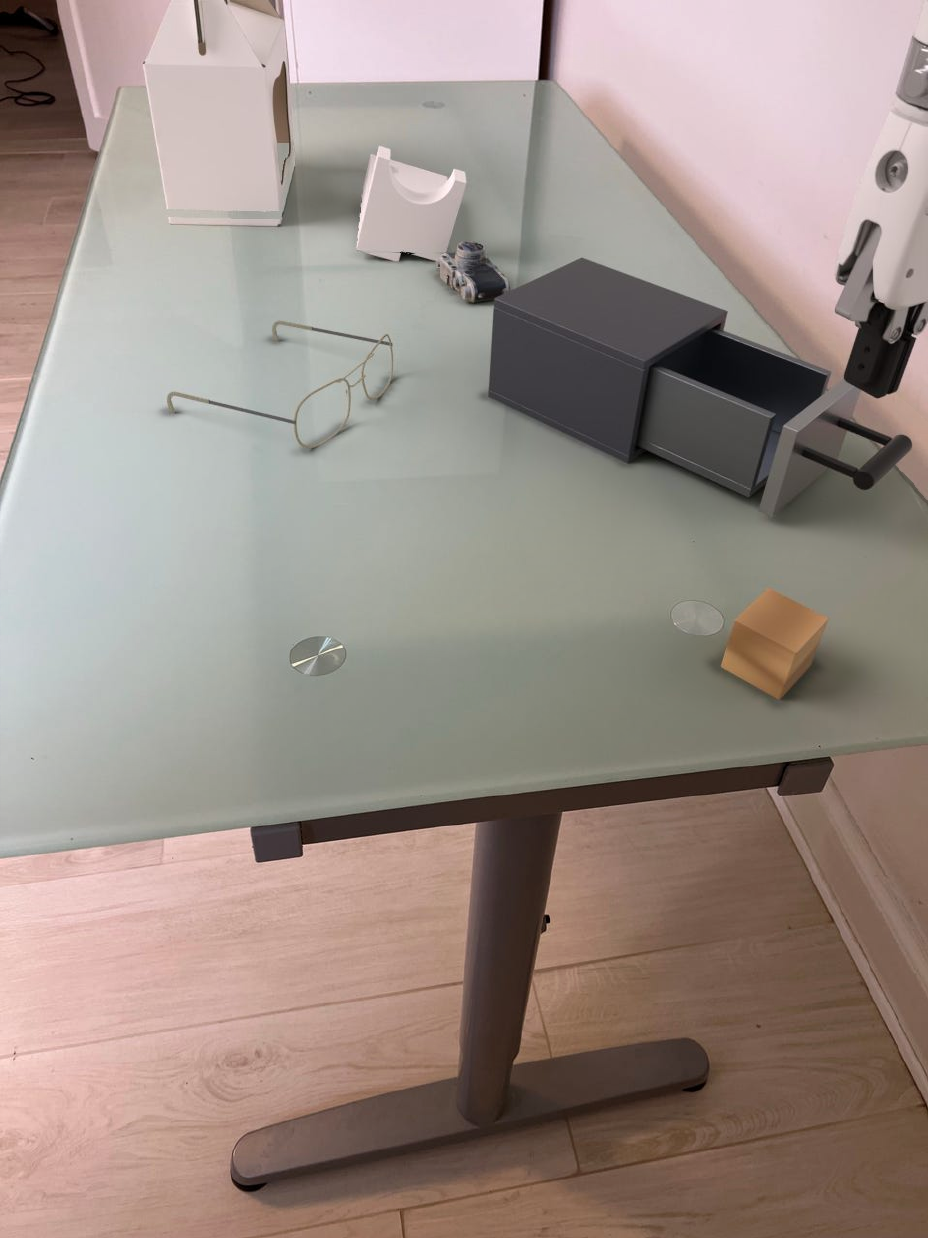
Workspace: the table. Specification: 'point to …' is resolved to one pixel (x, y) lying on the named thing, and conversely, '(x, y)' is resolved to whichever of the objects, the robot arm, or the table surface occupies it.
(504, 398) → the cabinet
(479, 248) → the camera
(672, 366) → the pull-out drawer
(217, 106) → the gable box
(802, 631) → the block
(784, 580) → the table surface
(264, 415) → the eyeglasses
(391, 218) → the white notched cradle
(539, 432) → the table surface
